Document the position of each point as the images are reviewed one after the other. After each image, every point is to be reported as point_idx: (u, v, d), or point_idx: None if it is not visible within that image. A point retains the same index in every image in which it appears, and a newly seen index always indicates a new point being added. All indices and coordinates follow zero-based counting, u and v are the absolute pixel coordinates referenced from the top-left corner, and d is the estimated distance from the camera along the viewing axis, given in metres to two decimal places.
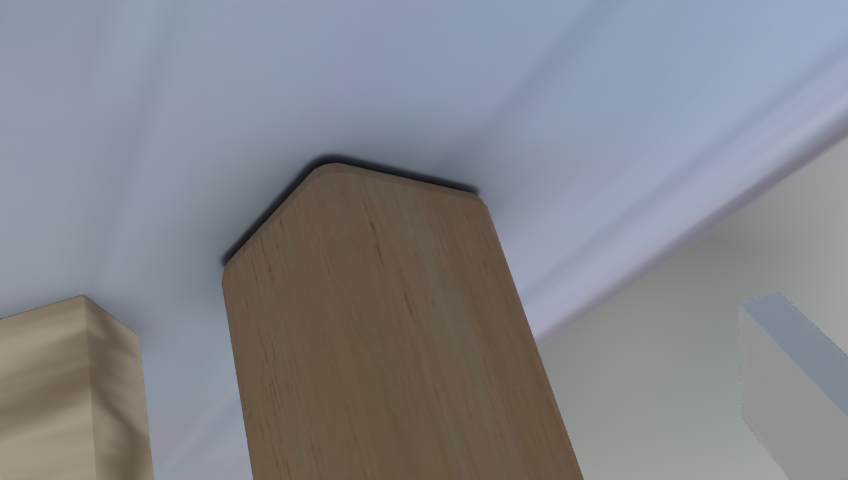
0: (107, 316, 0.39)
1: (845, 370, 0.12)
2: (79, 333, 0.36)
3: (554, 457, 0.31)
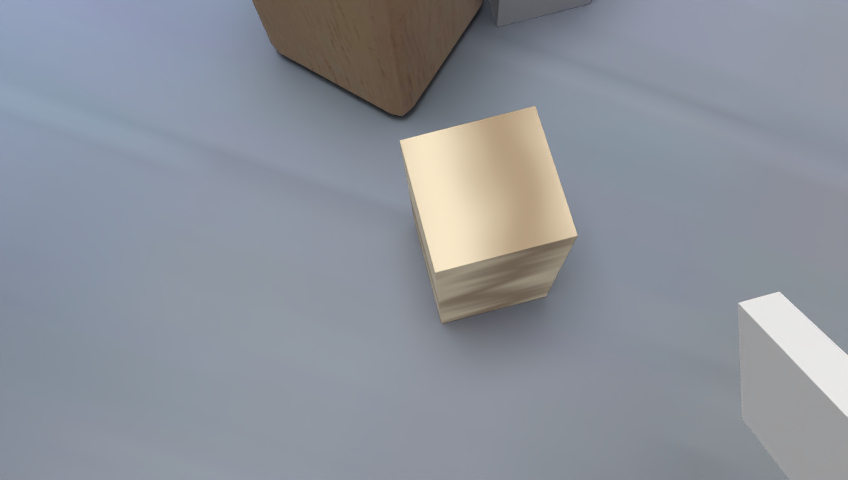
0: None
1: (845, 370, 0.12)
2: (414, 219, 0.43)
3: None
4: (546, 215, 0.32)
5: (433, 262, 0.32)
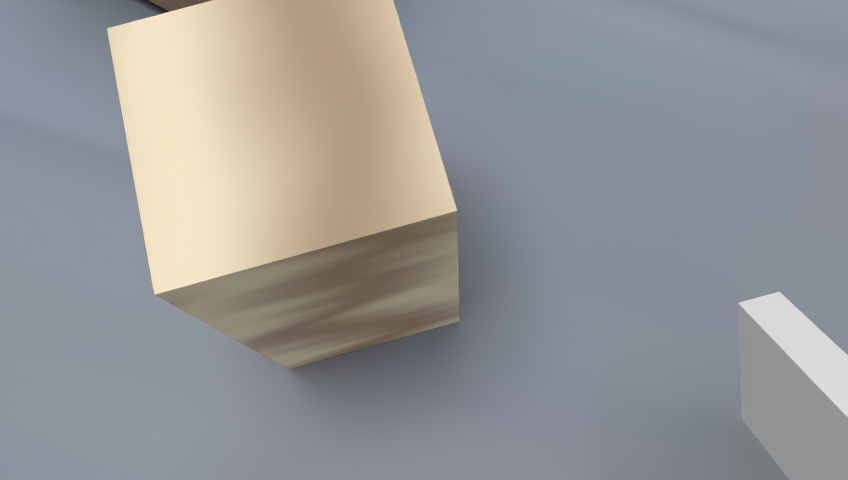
0: None
1: (845, 370, 0.12)
2: None
3: None
4: (394, 169, 0.15)
5: (153, 273, 0.15)
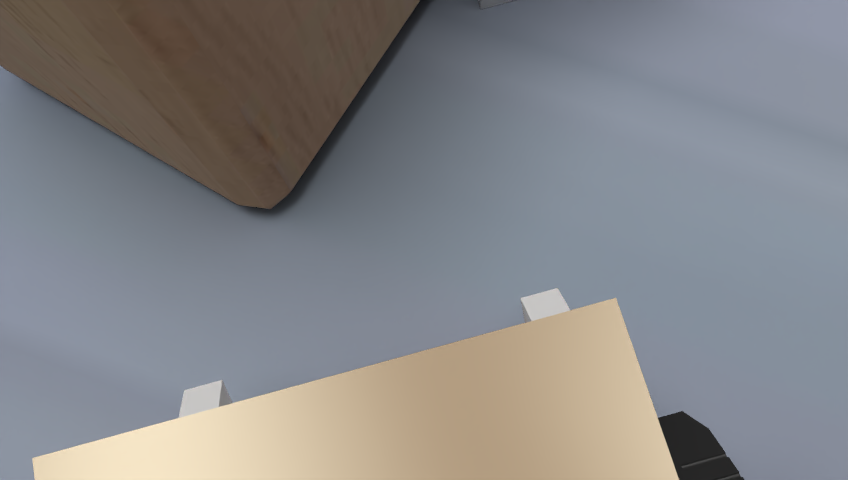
0: None
1: None
2: None
3: None
4: None
5: None
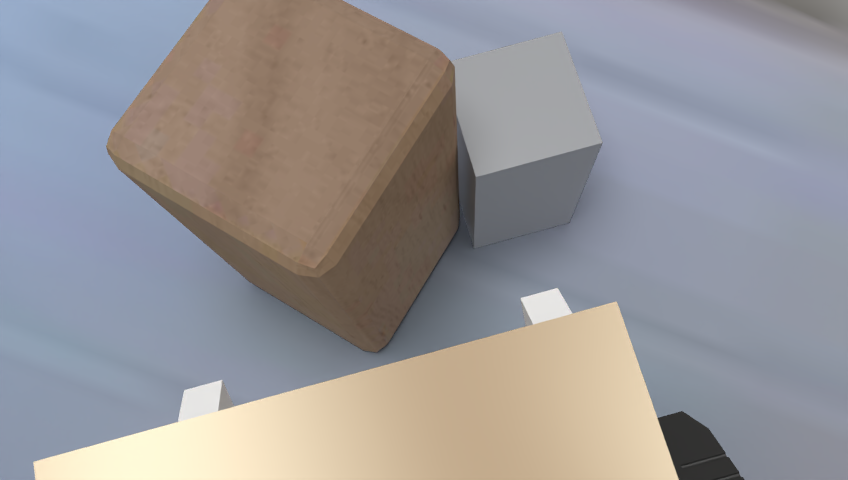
0: None
1: None
2: None
3: None
4: None
5: None
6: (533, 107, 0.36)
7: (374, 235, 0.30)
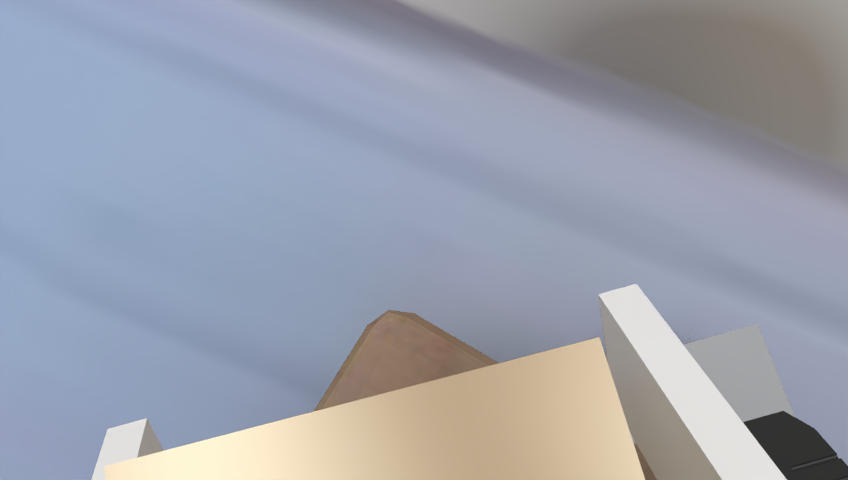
0: None
1: (675, 354, 0.13)
2: None
3: None
4: None
5: None
6: None
7: None
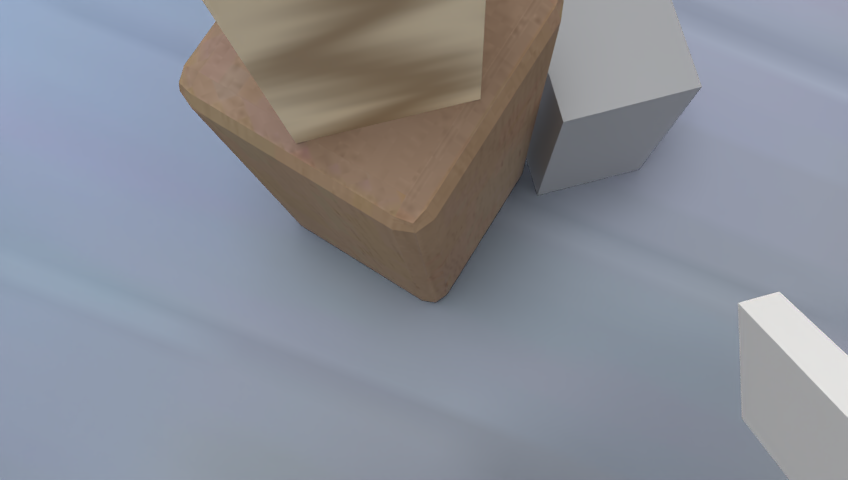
0: None
1: (845, 370, 0.12)
2: None
3: None
4: None
5: None
6: (626, 45, 0.33)
7: (467, 186, 0.27)
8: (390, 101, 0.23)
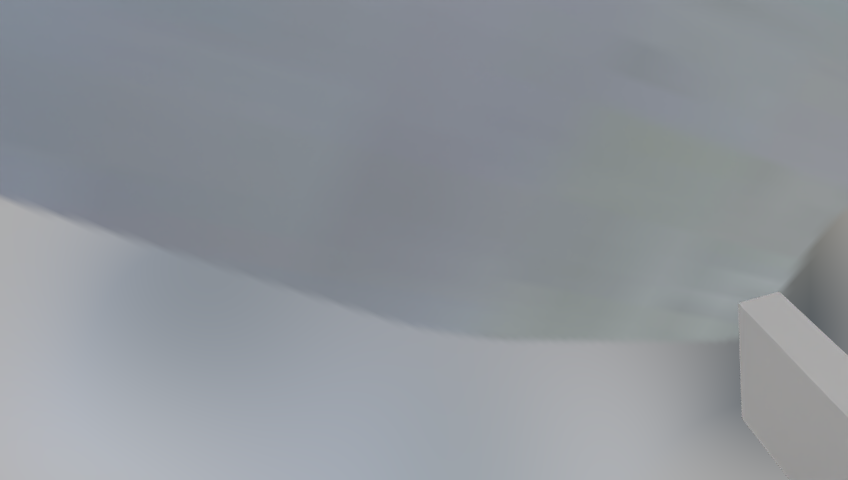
0: None
1: (845, 370, 0.12)
2: None
3: None
4: None
5: None
6: None
7: None
8: None
